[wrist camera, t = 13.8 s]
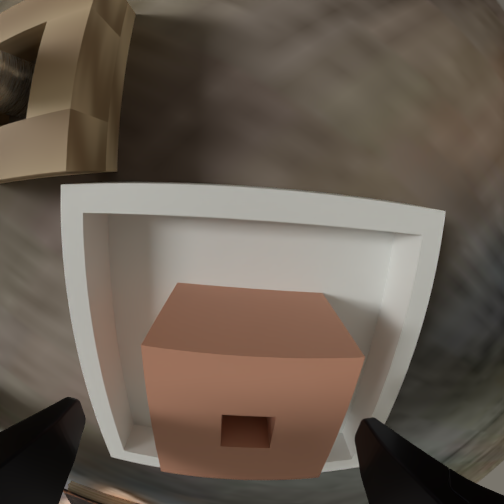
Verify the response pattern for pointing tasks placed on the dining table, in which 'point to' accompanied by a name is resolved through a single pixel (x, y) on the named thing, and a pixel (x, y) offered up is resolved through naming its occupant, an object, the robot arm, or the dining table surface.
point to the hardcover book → (90, 496)
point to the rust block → (247, 382)
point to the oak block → (66, 86)
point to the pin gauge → (15, 84)
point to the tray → (240, 282)
